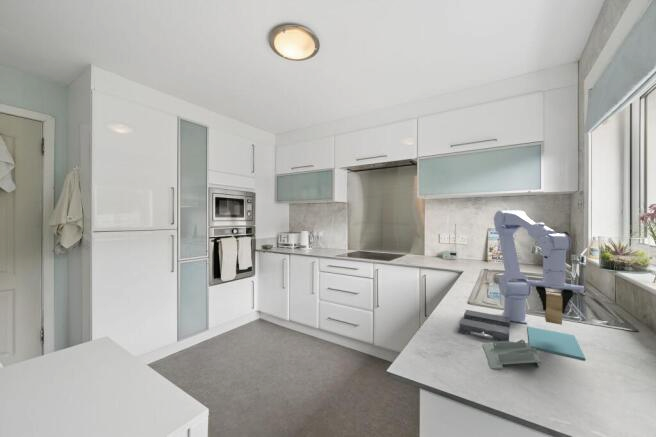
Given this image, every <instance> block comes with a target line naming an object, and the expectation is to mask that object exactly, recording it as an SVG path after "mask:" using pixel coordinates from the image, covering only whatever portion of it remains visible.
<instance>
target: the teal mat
mask: <svg viewBox="0 0 656 437" xmlns="http://www.w3.org/2000/svg"><path fill="white" fill-rule="evenodd" d="M527 335H528V342H529V343H528V344H529V345H530V346H531V348H536V350H537V351H538V350H539V351H544V352H547V353H551V354H557V355H560V356H564V357H570V358H575V359H578V360H581V361H582V360H584V361H586V357H585V355H584V352H583V350H582V348H581V347H580V345H579V343H578V340H577V339H576V338H577V337H576V336H575V335H574V334H571V333H565V332H560V331H559V332H558V331H554V330H549V329H543V328H538V327H532V326H527Z"/></svg>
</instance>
